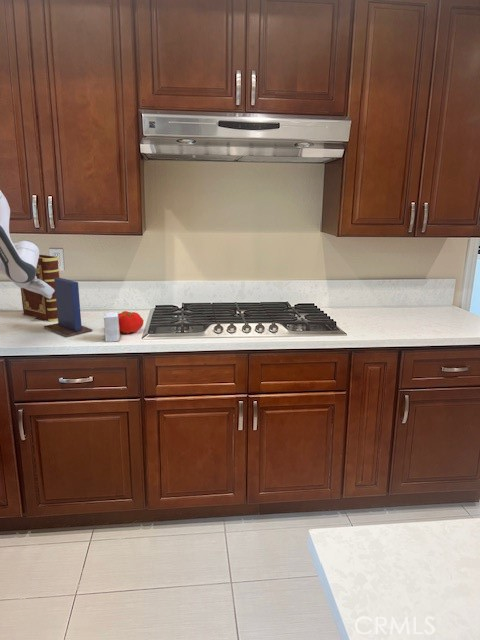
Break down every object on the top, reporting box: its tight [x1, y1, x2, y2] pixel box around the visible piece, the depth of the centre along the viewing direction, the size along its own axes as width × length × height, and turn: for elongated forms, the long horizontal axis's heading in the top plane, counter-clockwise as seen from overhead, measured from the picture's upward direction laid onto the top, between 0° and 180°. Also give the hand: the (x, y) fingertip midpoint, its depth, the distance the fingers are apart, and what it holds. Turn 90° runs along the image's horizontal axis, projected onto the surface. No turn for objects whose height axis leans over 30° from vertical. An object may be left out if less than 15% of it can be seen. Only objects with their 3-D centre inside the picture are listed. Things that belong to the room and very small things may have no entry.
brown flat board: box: [43, 322, 93, 338], centre depth 206 cm, size 12×20×1 cm, turn 48°
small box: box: [103, 312, 121, 343], centre depth 193 cm, size 8×6×10 cm
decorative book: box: [20, 254, 61, 323], centre depth 223 cm, size 22×8×30 cm, turn 58°
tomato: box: [118, 310, 144, 334], centre depth 204 cm, size 13×12×8 cm
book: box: [54, 277, 83, 331], centre depth 204 cm, size 3×15×21 cm, turn 48°
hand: (49, 297), depth 198 cm, fingers closed
